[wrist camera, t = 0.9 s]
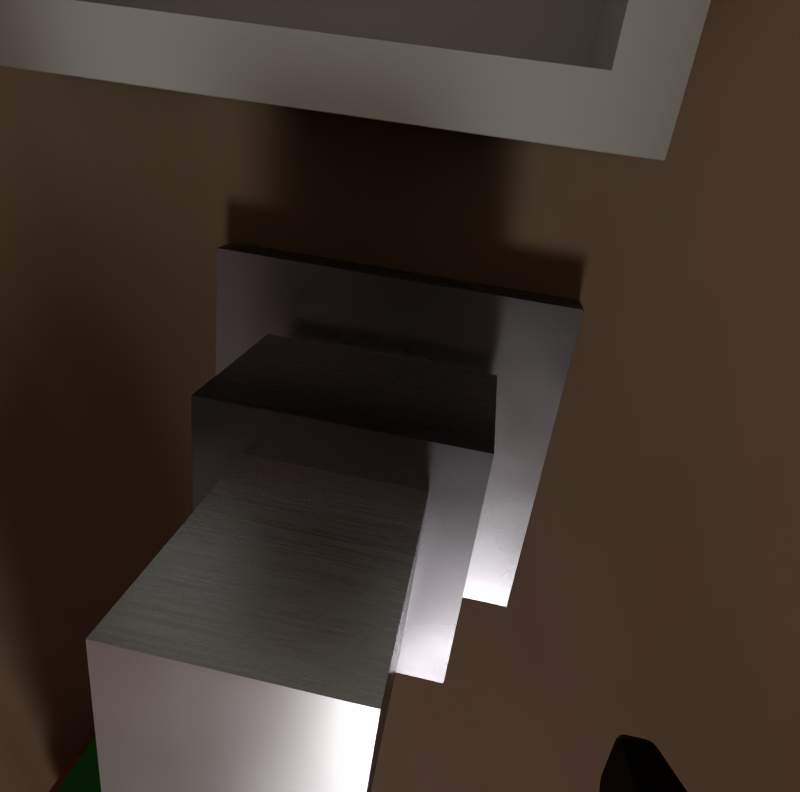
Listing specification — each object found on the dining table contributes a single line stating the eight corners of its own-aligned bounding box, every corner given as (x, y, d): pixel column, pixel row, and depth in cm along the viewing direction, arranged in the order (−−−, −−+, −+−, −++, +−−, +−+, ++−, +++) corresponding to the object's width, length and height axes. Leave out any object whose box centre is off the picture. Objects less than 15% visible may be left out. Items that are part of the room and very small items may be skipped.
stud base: (579, 300, 13) (587, 319, 12) (505, 585, 17) (506, 626, 15) (231, 242, 14) (201, 253, 13) (226, 526, 17) (202, 559, 16)
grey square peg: (497, 375, 13) (485, 664, 6) (457, 565, 15) (411, 952, 8) (267, 334, 13) (-4, 553, 6) (258, 523, 15) (46, 852, 8)
